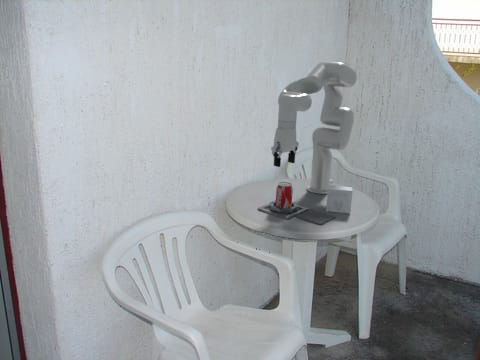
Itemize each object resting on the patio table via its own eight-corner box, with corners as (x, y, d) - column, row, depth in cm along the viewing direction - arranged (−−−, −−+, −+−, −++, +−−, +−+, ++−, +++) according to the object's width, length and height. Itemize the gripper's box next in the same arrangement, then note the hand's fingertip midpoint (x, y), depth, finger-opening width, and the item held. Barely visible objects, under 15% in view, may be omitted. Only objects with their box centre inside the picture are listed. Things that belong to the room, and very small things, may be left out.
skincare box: (349, 208, 207) (352, 186, 204) (350, 214, 201) (352, 191, 198) (326, 206, 209) (328, 184, 206) (325, 211, 203) (328, 188, 200)
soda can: (290, 213, 198) (292, 187, 195) (274, 211, 200) (275, 185, 196) (292, 208, 205) (293, 182, 201) (276, 206, 206) (277, 180, 203)
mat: (311, 210, 203) (311, 209, 203) (335, 217, 196) (335, 216, 195) (296, 217, 194) (296, 215, 194) (320, 225, 187) (320, 223, 187)
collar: (279, 201, 213) (279, 196, 212) (308, 210, 203) (309, 204, 202) (257, 209, 202) (257, 204, 201) (287, 219, 192) (287, 214, 191)
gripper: (292, 121, 199) (289, 159, 204) (266, 125, 187) (264, 166, 192) (306, 123, 194) (303, 162, 199) (280, 128, 182) (278, 169, 187)
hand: (284, 164), depth 196 cm, fingers open, 9 cm apart
